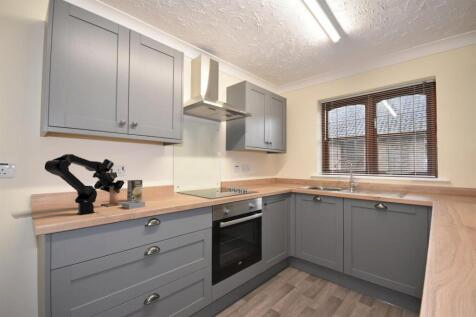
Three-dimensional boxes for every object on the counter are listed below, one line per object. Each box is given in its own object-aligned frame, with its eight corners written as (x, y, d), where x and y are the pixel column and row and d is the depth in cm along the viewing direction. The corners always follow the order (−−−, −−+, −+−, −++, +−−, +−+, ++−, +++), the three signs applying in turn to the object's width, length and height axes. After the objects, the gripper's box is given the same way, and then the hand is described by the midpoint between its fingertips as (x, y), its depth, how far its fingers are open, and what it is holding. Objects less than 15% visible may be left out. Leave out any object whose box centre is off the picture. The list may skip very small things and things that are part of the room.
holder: (129, 210, 134) (129, 204, 134) (122, 208, 141) (122, 202, 141) (145, 208, 142) (145, 201, 142) (137, 206, 148) (137, 200, 148)
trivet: (107, 208, 143) (107, 206, 143) (100, 206, 150) (100, 204, 150) (126, 205, 152) (126, 203, 152) (119, 203, 159) (119, 201, 159)
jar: (116, 204, 149) (116, 184, 149) (107, 204, 148) (107, 185, 148) (119, 202, 154) (119, 184, 154) (110, 203, 153) (110, 184, 154)
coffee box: (131, 201, 168) (132, 180, 169) (126, 201, 172) (126, 180, 172) (142, 200, 176) (142, 179, 177) (137, 199, 180) (137, 179, 180)
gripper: (122, 168, 147) (133, 183, 157) (97, 168, 149) (109, 183, 160) (114, 180, 138) (125, 196, 149) (87, 180, 141) (100, 196, 152)
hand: (115, 192), depth 153 cm, fingers open, 6 cm apart
